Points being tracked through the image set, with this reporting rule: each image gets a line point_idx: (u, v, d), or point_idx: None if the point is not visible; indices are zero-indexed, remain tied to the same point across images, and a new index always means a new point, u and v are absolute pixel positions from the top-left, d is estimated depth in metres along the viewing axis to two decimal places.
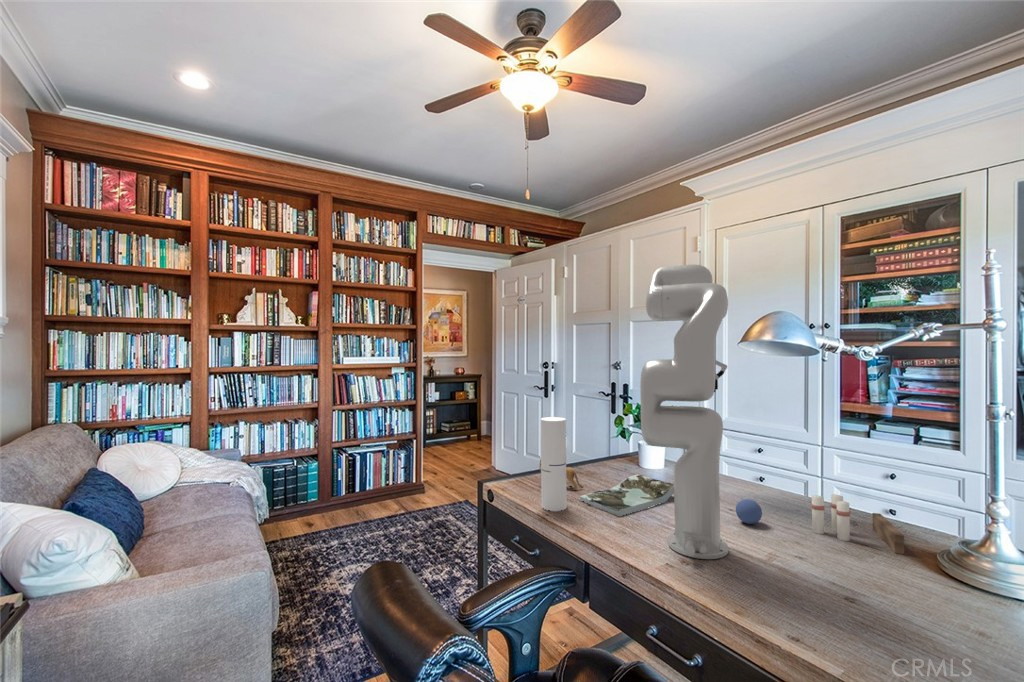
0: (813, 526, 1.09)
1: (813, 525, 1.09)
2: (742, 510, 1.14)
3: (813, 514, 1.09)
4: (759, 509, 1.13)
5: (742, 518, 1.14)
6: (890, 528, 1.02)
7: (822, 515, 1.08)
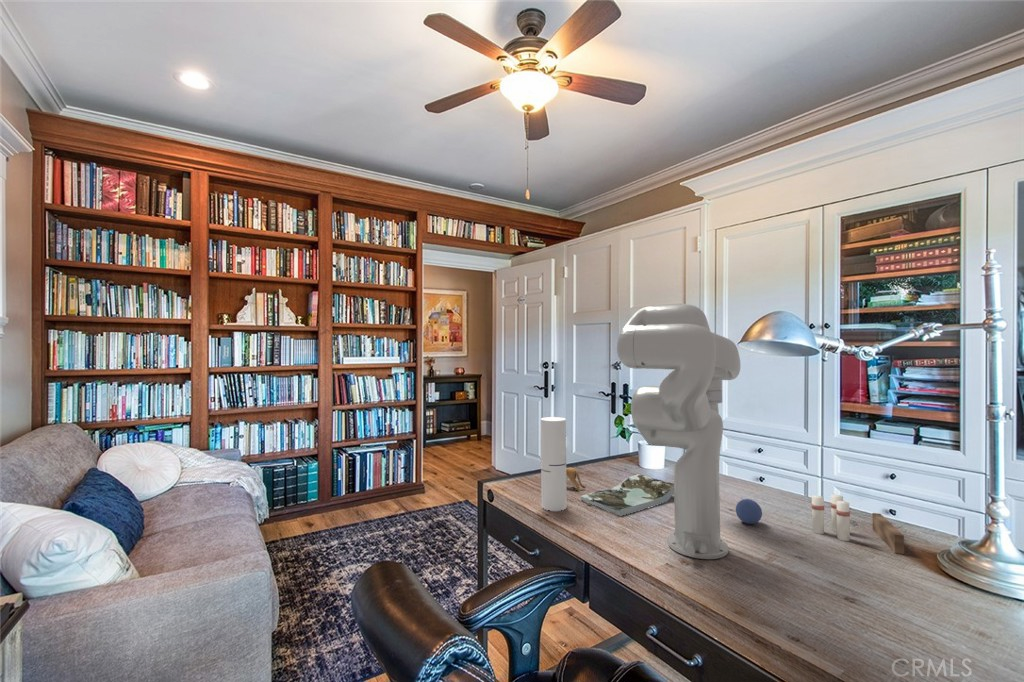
0: (813, 526, 1.09)
1: (813, 525, 1.09)
2: (742, 510, 1.14)
3: (813, 514, 1.09)
4: (759, 509, 1.13)
5: (742, 518, 1.14)
6: (890, 528, 1.02)
7: (822, 515, 1.08)
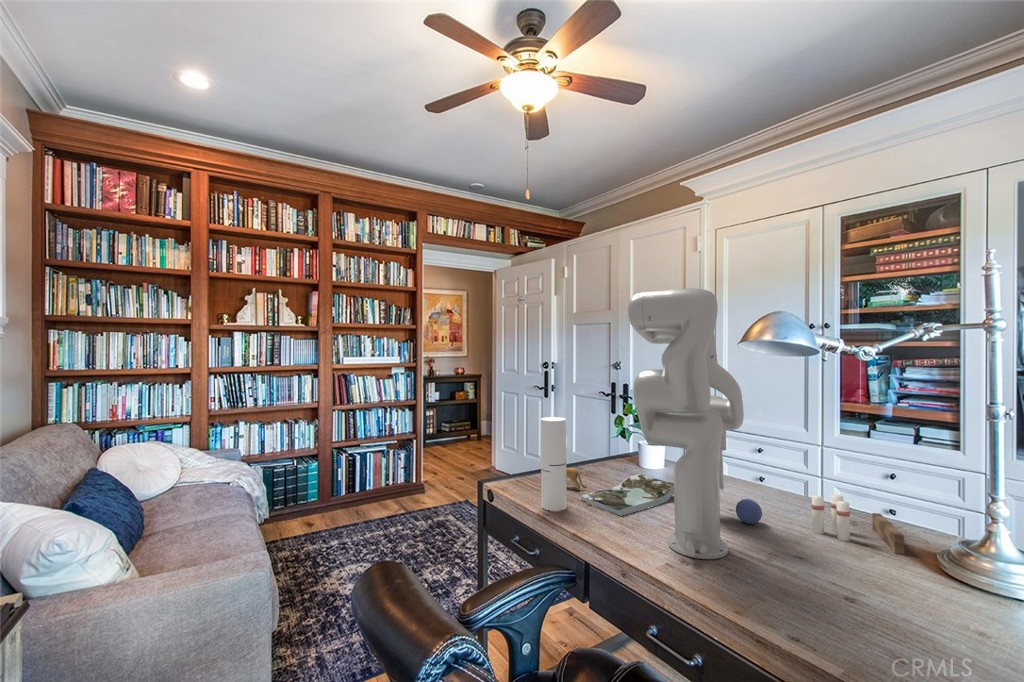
0: (813, 526, 1.09)
1: (813, 525, 1.09)
2: (742, 510, 1.14)
3: (813, 514, 1.09)
4: (759, 509, 1.13)
5: (742, 518, 1.14)
6: (890, 528, 1.02)
7: (822, 515, 1.08)
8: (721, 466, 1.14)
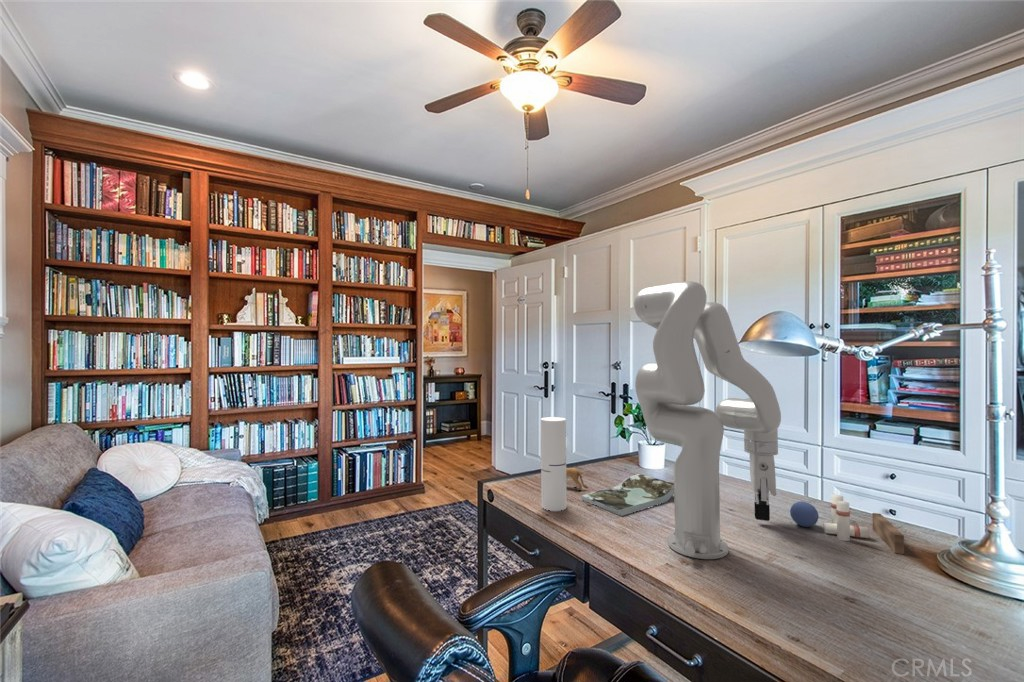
0: (831, 524, 1.08)
1: (832, 524, 1.08)
2: (810, 519, 1.10)
3: None
4: (794, 507, 1.13)
5: (817, 514, 1.11)
6: (890, 528, 1.02)
7: None
8: (774, 471, 1.09)
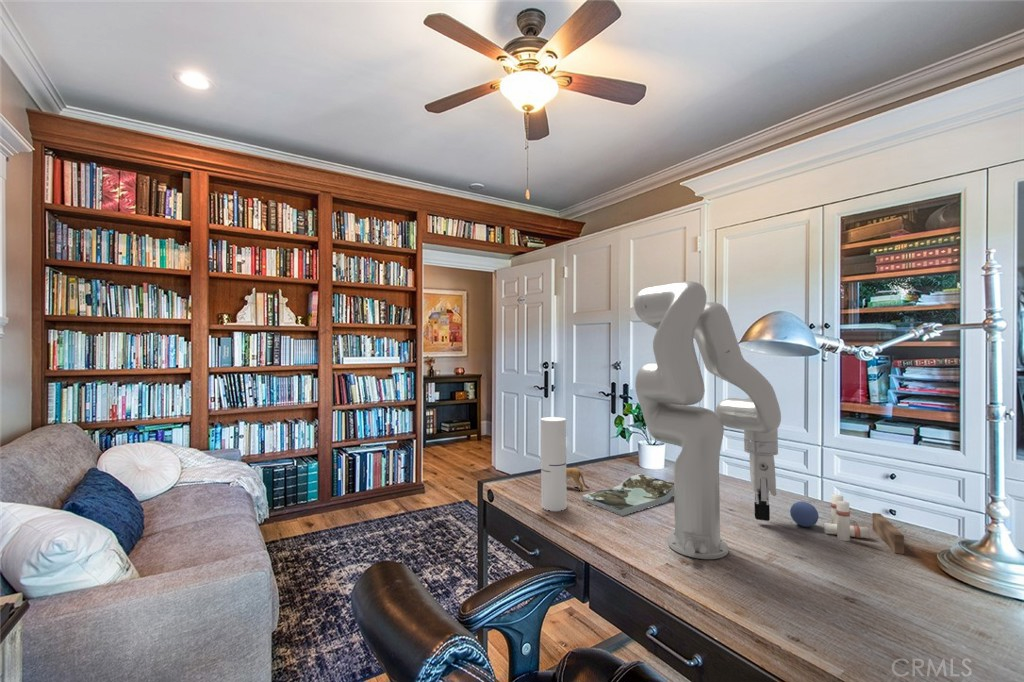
0: (831, 525, 1.08)
1: (833, 525, 1.08)
2: (810, 519, 1.10)
3: None
4: (794, 507, 1.13)
5: (817, 514, 1.11)
6: (890, 528, 1.02)
7: None
8: (774, 471, 1.09)
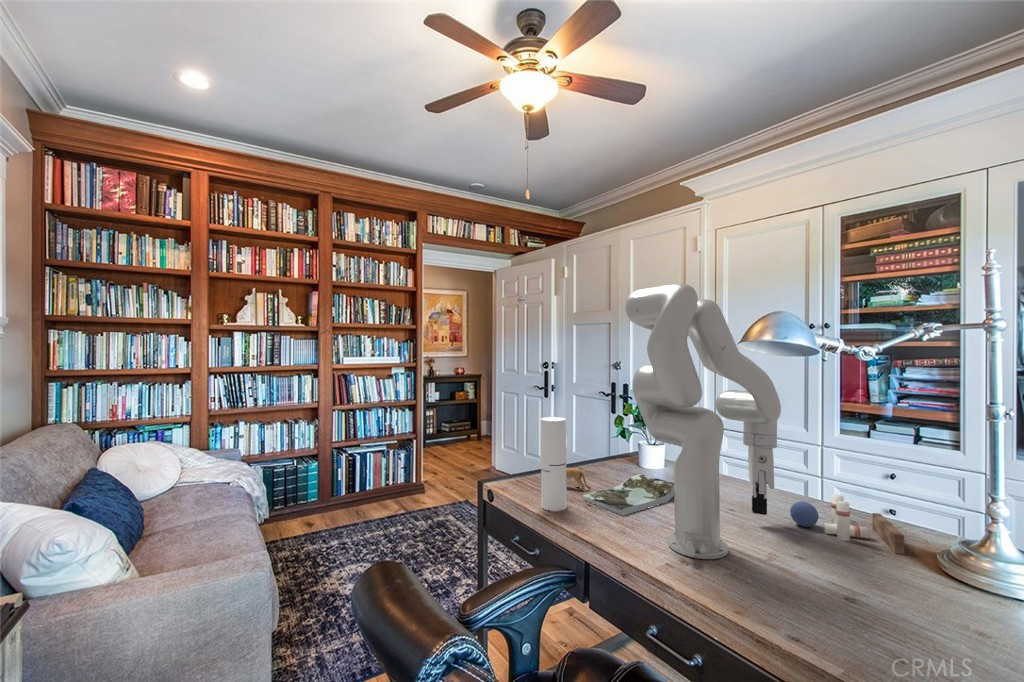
0: (831, 525, 1.08)
1: (833, 525, 1.08)
2: (810, 519, 1.10)
3: None
4: (794, 507, 1.13)
5: (817, 514, 1.11)
6: (890, 528, 1.02)
7: None
8: (772, 464, 1.09)
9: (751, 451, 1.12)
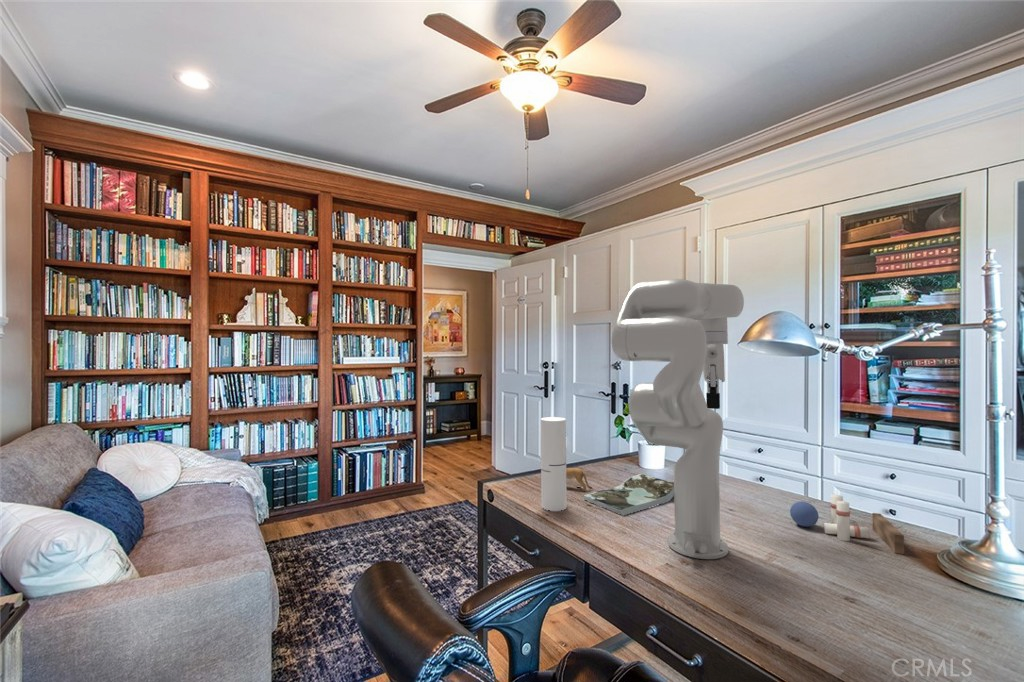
0: (831, 525, 1.08)
1: (833, 525, 1.08)
2: (810, 519, 1.10)
3: None
4: (794, 507, 1.13)
5: (817, 514, 1.11)
6: (890, 528, 1.02)
7: None
8: (722, 357, 1.14)
9: None
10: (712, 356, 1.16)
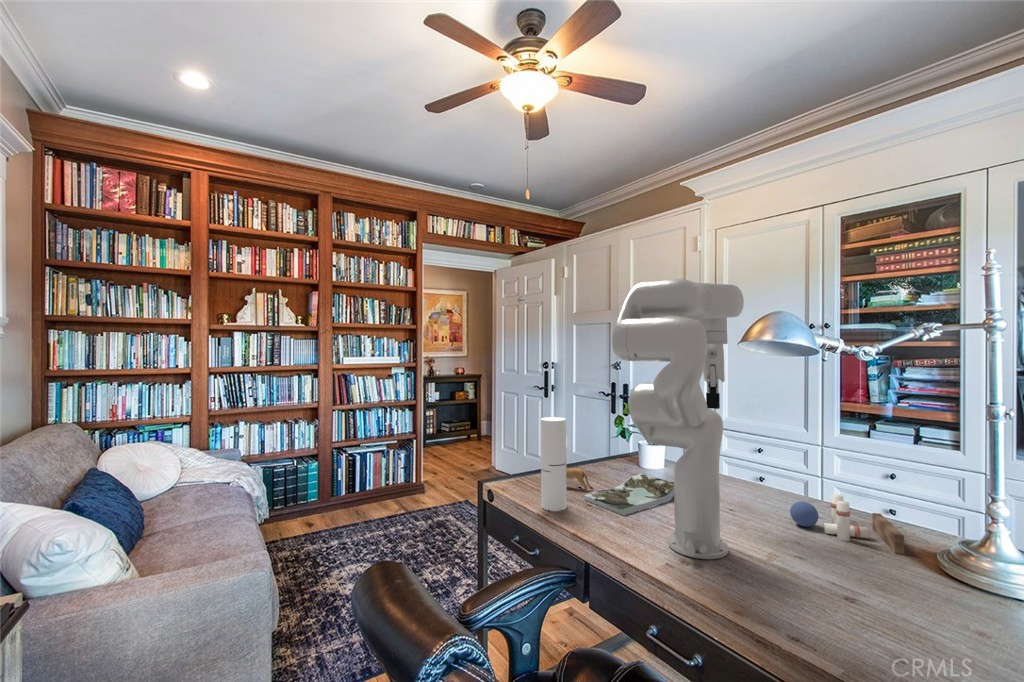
0: (831, 525, 1.08)
1: (833, 525, 1.08)
2: (810, 519, 1.10)
3: None
4: (794, 507, 1.13)
5: (817, 514, 1.11)
6: (890, 528, 1.02)
7: None
8: (722, 357, 1.14)
9: None
10: (712, 356, 1.16)
